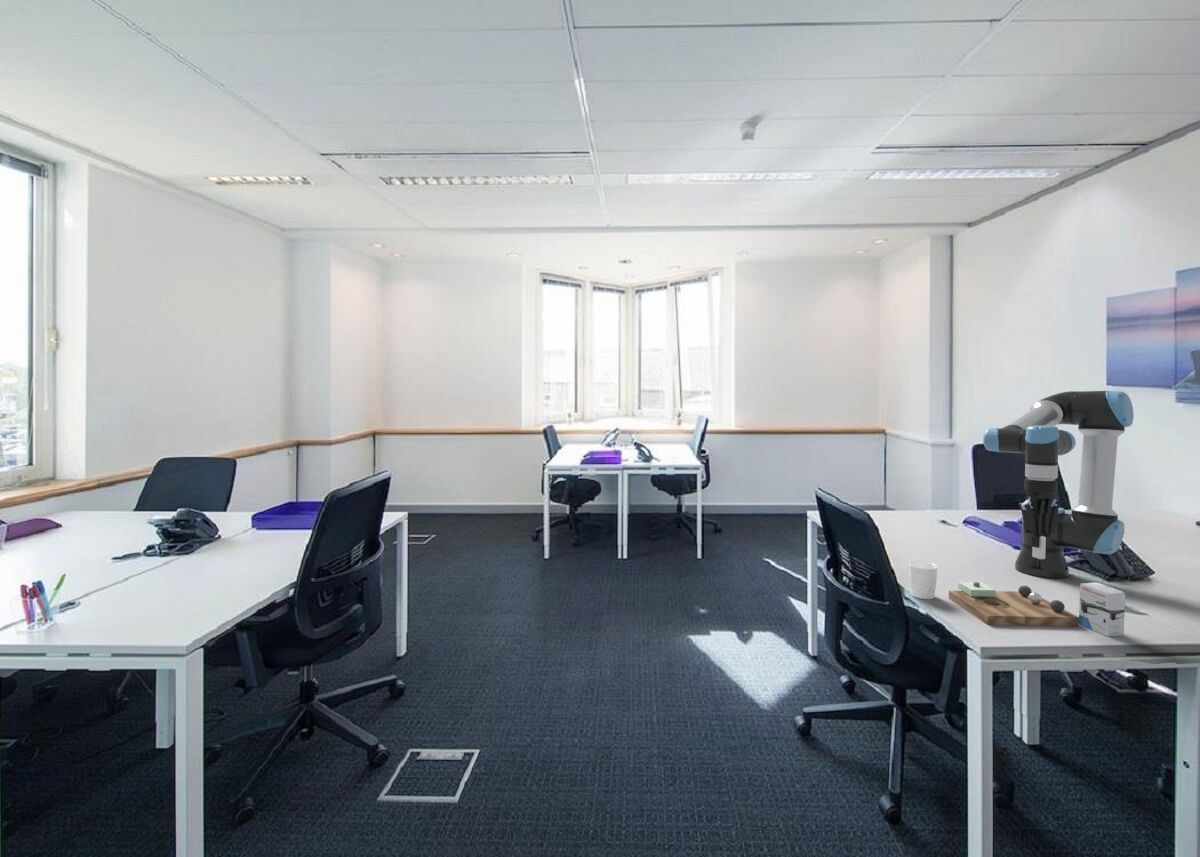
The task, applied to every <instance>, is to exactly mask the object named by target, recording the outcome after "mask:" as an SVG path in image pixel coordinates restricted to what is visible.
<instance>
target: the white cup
mask: <svg viewBox="0 0 1200 857" xmlns="http://www.w3.org/2000/svg"><path fill="white" fill-rule="evenodd" d="M908 574H909V575H908V579H909V591H910V592H909V593H910V595H911V596H912V597H913V598H916V599H920V600H921V599H922V600H934V599H935V597H936V589H937V588H936V587H937V578H938V566H937V564H934V563H931V562H925V561H910V562H908Z"/></svg>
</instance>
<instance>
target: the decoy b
mask: <svg viewBox="0 0 1200 857" xmlns="http://www.w3.org/2000/svg"><path fill="white" fill-rule="evenodd" d="M1050 602H1051V603H1050V607H1051V609H1052V610H1054V611H1056V612H1062V611H1063V610H1065V608H1066V607H1065V604H1064V603H1063V601H1060V600H1058V599H1054V600H1052V601H1050Z"/></svg>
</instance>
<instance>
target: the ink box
mask: <svg viewBox="0 0 1200 857" xmlns="http://www.w3.org/2000/svg"><path fill="white" fill-rule="evenodd" d="M1078 606H1079V607H1078V608H1079V610H1078V617H1079V626H1083V627H1085V628H1087V629H1090V630H1092V631H1093V632H1097V633H1099V634H1101V635H1103V636H1106V637H1123V636H1124V635H1125V633H1124V632H1125V614H1126V593H1125V592H1124V591H1121V590H1120V589H1116V588H1114V587H1112V586H1111V587H1110V586H1109V585H1105V584H1103V583H1100V582H1083V583H1082V582H1081V583H1080V585H1079V605H1078Z"/></svg>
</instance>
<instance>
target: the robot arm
mask: <svg viewBox="0 0 1200 857" xmlns="http://www.w3.org/2000/svg"><path fill="white" fill-rule="evenodd" d="M1133 421H1134V408H1133V403H1132V400H1131V398H1130V396H1129V395H1128V394H1127V393H1126V392H1124V391H1120V390H1119V391H1116V390H1092V391H1091V390H1087V391H1086V390H1085V391H1084V390H1083V391H1080V390H1079V391H1074V390H1073V391H1071V390H1069V391H1063V392H1059V393H1055V394H1052V395H1050V396H1046V397H1043V398H1042V399H1040V400H1038V401H1036V402H1035V403H1033V404H1032V405H1031V406H1030V409H1029V410H1028V411H1026V412H1025V413H1024V414H1022V415H1020V416H1019V417H1017V418H1015V419H1014V420H1013V421H1011V422H1010V423H1008V424H1007V425H1005V426H1003V427H1001V428H998V427H994V428H992V427H991V428H988V429H986V430H985V431H984V434H983V439H982V440H983V441H982V442H983V445H984V448H985V450H987V451H989V452H997V453H1011V454H1012V453H1013V454H1014V453H1015V454H1024V456H1025V458H1024V459H1025V461H1024V463H1025V464H1024V468H1025V469H1024V476H1025V478H1024V482H1023V483H1024V486H1023V488H1024V489H1023V490H1024V491H1025V492H1027V494H1026V497H1025V501H1024V502H1018V507H1019V509H1020V510H1021V516H1022V520H1021V522H1022V524H1021V525H1022V526H1021V528H1022V529H1021V549H1020V550H1019V554H1018V555H1017V558H1016V560H1015V561H1014V569H1015V570H1017V571H1018V572H1020V573H1023V574H1026V575H1029V576H1035V577H1040V578H1049V579H1064V578H1065V579H1066V578H1068V577H1069V576H1070V568H1069V566H1068V563H1067V559H1066V557H1065V555H1064V548H1067V549H1073V550H1074V549H1075V550H1079V551H1085V552H1090V553H1093V554H1101V555H1102V554H1103V555H1111V554H1114V553H1116V552H1117V551H1118V549H1119V548H1120V546H1121V544H1122V541H1123V539H1124V535H1125V523H1124V522H1123V521H1122V520H1120V519H1118V518H1119V514H1118V513H1117V512H1116V511H1114V509H1113V502H1114V501H1113V499H1114V488H1115V477H1116V462H1117V454H1118V453H1117V450H1118V441H1119V440H1118V439H1119V436H1121V435H1123V434H1124V433H1125V431H1126V430H1125V429H1126V428H1128V427H1131V426H1132V425H1133V423H1134V422H1133ZM1057 425H1071V426H1073V425H1074V426H1078V428H1077V429H1078V431H1079V432H1080V433H1081V434H1082V435H1083V438H1082V449H1081V451H1082V452H1081V464H1080V473H1079V474H1080V475H1079V476H1080V477H1079V489H1078V503H1077V505H1076V506H1074V507H1073V508H1071V513H1066V510H1065V508H1063V507H1061V505H1062V502H1061V501H1059V500H1057V499H1056V498H1055V497H1056V496H1055V495H1054V494H1056V493H1058V481H1057V479H1058V477H1059V456H1065V455H1067V454H1068V453H1070V452H1071V451H1073V450H1074V449H1075V447H1076V444H1077V442H1076V438H1075V436H1074V435H1073V434H1072V433H1071V432H1070V431H1067V430H1064V429H1059V428H1058V427H1057Z"/></svg>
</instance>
